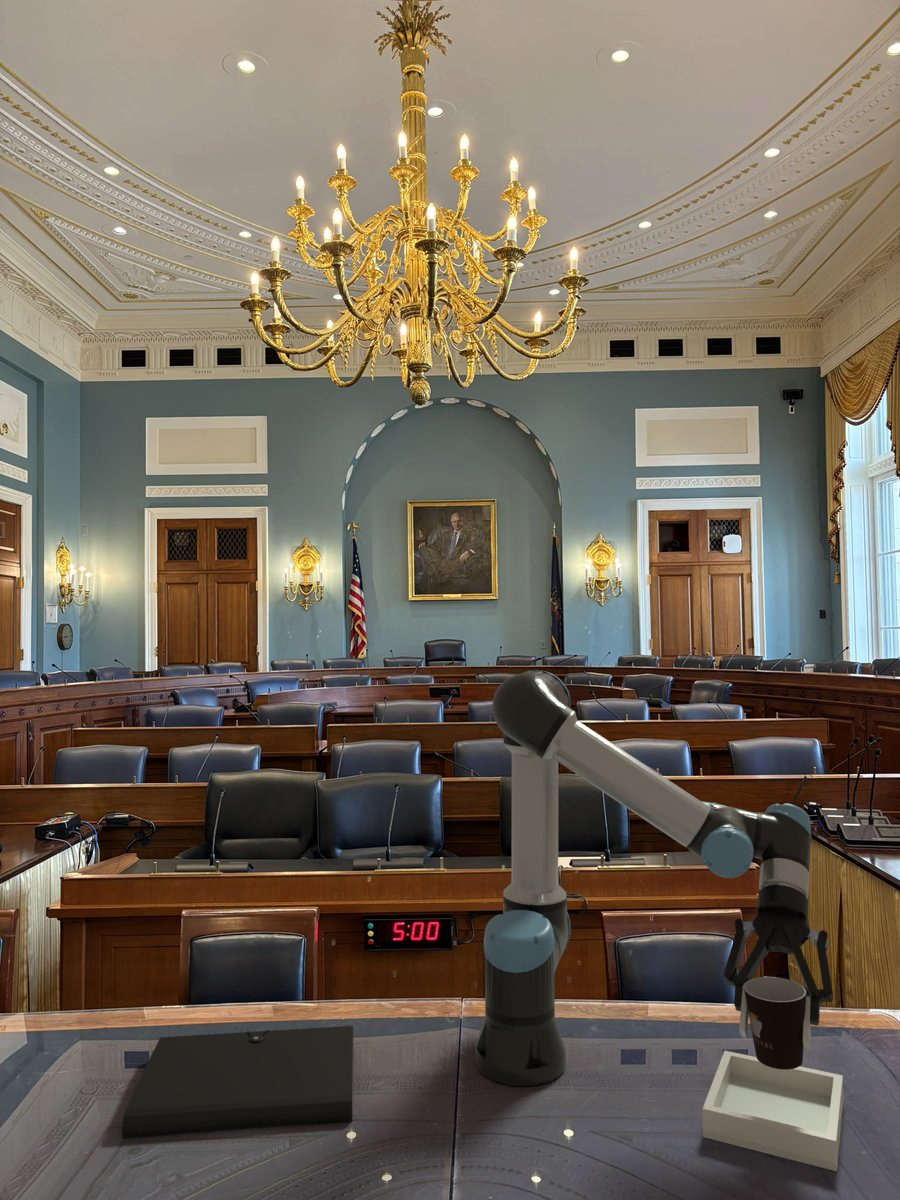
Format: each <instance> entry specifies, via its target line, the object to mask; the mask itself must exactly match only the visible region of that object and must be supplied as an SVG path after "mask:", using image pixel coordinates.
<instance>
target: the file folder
mask: <svg viewBox="0 0 900 1200" xmlns="http://www.w3.org/2000/svg"><path fill="white" fill-rule="evenodd" d="M353 1081H354V1025H345V1026H344V1025H342V1026H328V1027H327V1026H324V1027H310V1028H295V1029H277V1030H275V1029H274V1030H270V1029H267V1030H263V1031H262V1030H259V1031H245V1032H227V1033H226V1032H225V1033H212V1034H209V1033H208V1034H194V1035H192V1034H191V1035H181V1036H180V1035H179V1036H162V1037H159V1039H158V1041H157V1043H156V1045H155V1047H154V1050H153V1051H152V1052H151V1054H150V1057H149V1060H148V1061H147V1064H146V1066H145V1068H144V1070H143V1073H142V1074H141V1077H140V1079H139V1081H138V1082H137V1085H136V1088H135V1089H134V1092H133V1094H132V1096H131V1097H130V1100H129V1103H128V1105H127V1107H126V1109H125V1112H124V1114H123V1117H122V1123H121V1137H122V1138H123V1139H124V1138H136V1137H151V1136H160V1135H161V1136H162V1135H163V1136H164V1135H176V1134H188V1133H189V1134H190V1133H201V1132H202V1133H205V1132H217V1131H230V1130H232V1131H233V1130H244V1129H245V1130H246V1129H247V1130H248V1129H257V1128H258V1129H260V1128H272V1127H275V1128H276V1127H284V1126H285V1127H286V1126H288V1127H289V1126H298V1125H312V1124H325V1123H326V1124H327V1123H338V1122H339V1123H341V1122H342V1123H343V1122H353V1103H354V1102H353V1099H354V1098H353V1097H354V1096H353V1095H354V1094H353V1087H354V1086H353V1085H354V1082H353Z"/></svg>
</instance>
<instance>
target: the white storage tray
mask: <svg viewBox="0 0 900 1200" xmlns="http://www.w3.org/2000/svg"><path fill="white" fill-rule="evenodd" d="M843 1110H844V1076H843V1075H842V1074H838V1073H833V1072H829V1071H823V1070H820V1069H813V1068H809V1067H804V1066H799V1067H797V1068H794V1069H789V1070H783V1069H775V1068H771V1067H768V1066H766V1065H764V1064H762V1063H761V1062H759V1061H758V1059H757V1057H756V1056H752V1055H748V1054H742V1053H737V1052H733V1051H729V1050H724V1051H723V1053H722V1057H721V1059H720V1062H719V1065H718V1067H717V1070H716V1072H715V1075H714V1078H713V1080H712V1083H711V1086H710V1087H709V1091H708V1093H707V1096H706V1099H705V1101H704V1104H703V1106H702V1137H703V1138H706V1139H709V1140H713V1141H717V1142H720V1143H725V1144H728V1145H732V1146H736V1147H740V1148H744V1149H748V1150H752V1151H756V1152H760V1153H764V1154H766V1155H767V1154H768V1155H772V1156H775V1157H780V1158H783V1159H787V1160H792V1161H795V1162H799V1163H803V1164H806V1165H810V1166H814V1167H818V1168H822V1169H826V1170H830V1171H833V1172H837V1171H838V1162H839V1151H840V1140H841V1132H842V1131H841V1130H842V1121H843Z"/></svg>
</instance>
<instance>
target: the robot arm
mask: <svg viewBox="0 0 900 1200" xmlns="http://www.w3.org/2000/svg"><path fill="white" fill-rule="evenodd" d="M492 715H493V718H494V721H495V723H496V725H497V727H498V728H499V729H500V730H501V731H502V732H503V745H504V747H506V749H508V750H509V751H510V753H511V882H510V884H509V885H508V886H507V887H506V888H504V889H503V894H502V895H503V897H502V898H503V899H502V900H503V901H502V906H503V907H502V914H501V913H499V914H497V915H495V916H493V917H492V918H491V919H489V921H488V923H486V927H485V929H484V938H483V942H482V943H483V944H482V945H483V947H482V948H483V952H484V953H483V954H484V957H483V959H484V1004H485V1005H484V1006H485V1007H484V1008H485V1011H484V1013H485V1014H484V1019H483V1021H482V1025H481V1027H480V1030H479V1035H478V1038H477V1041H476V1044H475V1053H474V1054H475V1057H474V1058H475V1066H476V1068H477V1070H478V1071H479V1073H481V1074H482V1075H483V1076H484V1077H486V1078H487V1079H489V1080H491V1081H494V1082H497V1083H500V1084H504V1085H507V1086H514V1087H515V1086H516V1087H529V1086H530V1087H531V1086H538V1085H543V1084H547V1083H549V1082H552V1081H554V1080H556V1079H557V1078H559V1077H560V1076H561V1075H563V1073H564V1072H565V1070H566V1067H567V1052H566V1045H565V1043H564V1040H563V1036H562V1033H561V1032H560V1028H559V1025H558V1022H557V1019H556V1015H555V972H556V970H557V967H558V965H559V963H560V960H561V958H562V956H563V953H564V952H565V951H566V949H567V947H568V945H569V942H570V940H571V939H570V937H571V930H572V929H571V928H572V927H571V920H570V916H569V913H568V910H567V909H568V906H567V903H568V902H567V900H568V899H567V892H566V891H565V890H564V889H563V887H561V885H560V883H559V764H561V765H562V766H564V767H565V768H567V769H568V770H570V771H571V772H573V773H574V774H576V775H577V776H578V777H580V778H582V779H583V780H585V781H586V782H588V783H589V784H591V785H592V786H593V787H595V788H597V789H598V790H599V791H601V792H602V793H604V794H606V795H607V796H609V797H610V798H611V799H613V800H614V801H615V802H617V803H619V804H620V805H622V806H624V807H625V808H627V809H628V810H629V811H631V812H633V814H636V815H637V816H638V817H640V818H641V819H643V820H645V822H647V823H649V824H650V825H652V826H653V827H655V828H656V829H658V830H659V831H661V832H662V833H664V834H665V835H667V836H668V837H670V838H672V840H674V841H675V842H677V843H678V844H680V845H681V846H683V847H685V848H686V849H688V850H689V851H690V852H692V853H693V854H695V856H697V857H699V858H700V859H702V861H703V863H704V864H705V866H706V867H707V868H708V870H709V871H711V873H713V874H714V875H716V876H718V877H721V878H724V879H735V878H738V877H740V876H742V875H744V874H745V873H746V872H747V871H748V870H750V867H751V865H752V862H753V858H754V859H760V869H759V880H758V882H759V883H758V889H759V890H758V895H757V906H756V915H755V916H754V918H753V919H752V921H743V920H742V919H741V918H736V919H735V921H734V927H735V934H734V938H733V941H732V944H731V948H730V951H729V954H728V958H727V962H726V964H725V968H724V970H723V971H724V972H723V976H724V980H725V982H726V985H729V986H732V987H734V988H735V989H734V997H733V1004H734V1008H735V1011H736V1012H740V1013H739V1014H740V1015H739V1028H738V1031H739V1033H740V1036H741V1037H742V1038H747V1037H748V1029H749V1028H748V1025H749V1014H748V1008H747V1003H746V997H745V992H744V984H745V983H746V982H747V981H748V980H751V979H754V978H753V977H754V976H755V973H757V971H758V970H759V967H760V966H761V964H762V962H763V961H764V959H765V958H766V957H767V956H768V954H769V953H770V952H773V953H777V952H778V953H779V952H780V953H783V954H786V955H787V954H788V955H792V956H793V959H794V961H795V963H796V965H797V967H798V971H799V973H800V975H801V978H802V980H803V983H804V985H805V989H806V992H808V995H806V1008H805V1018H804V1023H803V1045H804V1047H803V1050H808V1051H810V1050H811V1037H812V1036H811V1035H812V1034H811V1032H812V1029H811V1028H812V1025H813V1026H819V1023H820V1015H821V1014H820V1011H821V1010H820V1007H821V1004H822V1003H825V1002H828V1003H831V1002H832V1003H833V1001H834V991H833V985H832V979H831V974H830V968H829V962H828V961H829V960H828V955H827V951H828V946H829V936H828V932H827V931H826V930H819V931H817V930H814V929H810V926H809V924H808V920H809V919H808V917H809V916H808V915H809V900H808V898H809V896H810V895H809V890H810V889H809V888H810V867H811V866H810V865H811V864H810V863H811V846H812V839H813V838H812V833H811V832H812V831H811V830H812V829H811V827H812V826H811V818H810V816H809V814H808V813H807V812H806V811H805V810H804V809H803V808H801V807H799V806H797V805H794V804H791V803H786V802H785V803H783V804H780V803H774V804H771V805H769V806H768V807H767V808H766V810H765V812H764V813H761V812H760V813H759V812H754V811H749V810H746V809H742V808H741V809H740V808H737V807H734V806H733V807H732V806H727V805H724V804H720V803H718V802H706V801H702V800H699V799H698V798H696V797H695V796H693V795H692V794H691V793H689V792H687V791H685V790H684V789H683V788H681V787H679V786H678V785H677V784H675V783H674V782H672V781H671V780H669V779H668V778H666V777H664V776H663V775H661V774H660V773H659V772H657V771H655V770H653V769H652V768H651V767H649V766H648V765H646V764H645V763H643V762H642V761H640V760H639V759H637V758H635V757H634V756H633V755H631V754H629V753H628V752H626V751H625V750H623V749H622V748H620V746H617V745H616V744H614V743H613V742H612V741H610V740H608V739H607V738H605V737H603V736H602V735H601V734H599V733H597V732H596V731H594V730H593V729H591V728H590V727H588V726H587V725H585V724H584V723H582V722H580V721H579V720H578V717H577V713H576V711H575V710H574V709H572V708H571V697H570V691H569V689H568V688H567V686H566V684H565V683H564V682H563V681H562V680H561V679H560V678H559V677H558V676H556V675H555V674H554V673H550V672H548V671H545V670H538V669H533V670H526V671H524V672H521V673H518V674H514V675H512V676H510V677H508V678H507V679H505V680H504V681H502V683H501V684H499V686H498V687H497V689H496V690H495V693H494V696H493V699H492ZM753 931H754V932H755V934H756V935H757V937H758V939H757V940H756V943H755V946H754V948H753V949H752V951H751V953H750V954H749V956H748V958H747V959H746V961H745V963H744V964H743V966H742V968H741V969H740V971H739V973H738V970H739V966H740V963H741V959H742V955H743V952H744V948H745V945H746V938H748V937H749V936H750V935H751V933H752V932H753ZM809 939H810V940H811V941H812V945H813V946H814V947H815V948H816V951H817V957H818V963H819V971H820V975H821V976H820V977H821V982H822V988H821V989H818V987H817V985H816V982H815V980H814V977H813V975H812V973H811V970H810V967H809V965H808V962H807V959H806V958H805V955H804V953H803V949H802V946H803V945H804V944H805V943H806V942H807V941H808V940H809ZM737 973H738V975H737Z"/></svg>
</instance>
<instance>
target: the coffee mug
mask: <svg viewBox="0 0 900 1200" xmlns="http://www.w3.org/2000/svg"><path fill="white" fill-rule="evenodd" d="M744 992H745V997H746V1003H747V1008H748V1014H749V1017H748V1020H749V1025H750V1029H751V1034H752V1035H751V1036H752V1041H753V1046H754V1052H755V1057H757V1059H758V1061H759V1062H761V1063H762V1064H764V1065H766V1066H768V1067H771V1068H775V1069H783V1070H789V1069H794V1068H797V1067H799V1066H800V1067H802V1064H803V1062H804V1045H803V1023H804V1018H805V1008H806V996H807V988H806V987H804V986H803V985H801V984H800V983H798V982H797V981H794V980H791V979H787V978H785V977H783V978H782V977H777V976H776V977H775V976H762V977H761V976H760V977H759V976H758V977H754V978H752V979H751V980H748V981H747V982H746V983H745V984H744Z"/></svg>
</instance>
